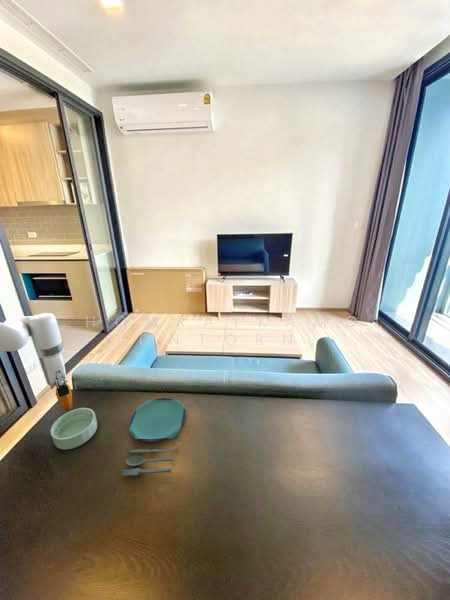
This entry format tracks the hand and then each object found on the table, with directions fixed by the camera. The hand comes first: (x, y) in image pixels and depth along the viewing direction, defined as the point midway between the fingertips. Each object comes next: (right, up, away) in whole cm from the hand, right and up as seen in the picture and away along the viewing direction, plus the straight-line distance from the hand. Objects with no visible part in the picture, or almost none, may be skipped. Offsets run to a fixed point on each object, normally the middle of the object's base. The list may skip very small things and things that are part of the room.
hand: (63, 390), depth 92 cm
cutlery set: (+36, -13, -6) cm, 39 cm away
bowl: (+9, -13, -6) cm, 17 cm away
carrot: (0, -9, +4) cm, 10 cm away
